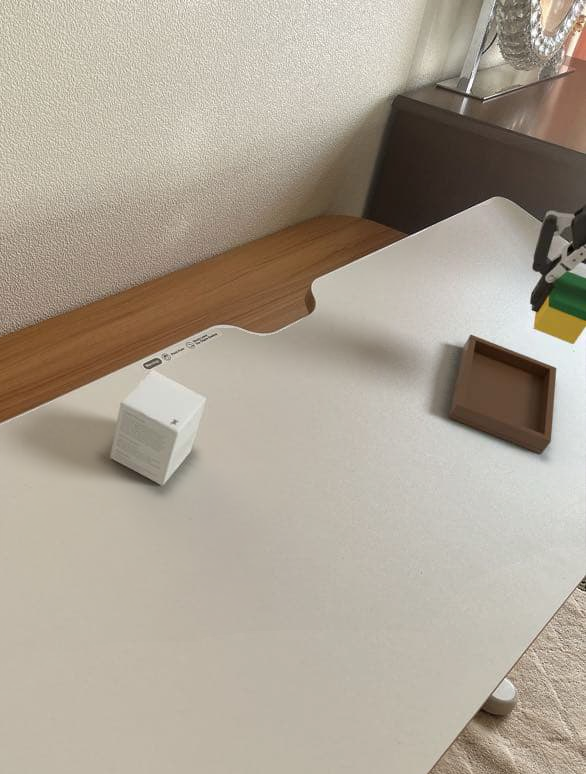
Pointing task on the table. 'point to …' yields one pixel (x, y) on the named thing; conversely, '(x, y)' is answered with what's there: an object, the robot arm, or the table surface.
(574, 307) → the sponge
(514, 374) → the tray
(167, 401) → the product box
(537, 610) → the table surface
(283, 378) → the table surface
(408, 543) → the table surface
